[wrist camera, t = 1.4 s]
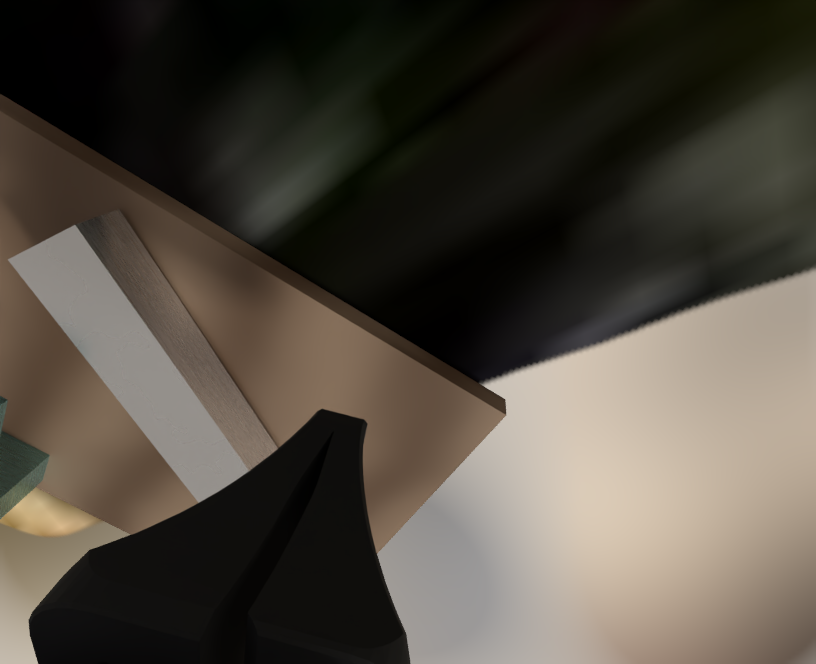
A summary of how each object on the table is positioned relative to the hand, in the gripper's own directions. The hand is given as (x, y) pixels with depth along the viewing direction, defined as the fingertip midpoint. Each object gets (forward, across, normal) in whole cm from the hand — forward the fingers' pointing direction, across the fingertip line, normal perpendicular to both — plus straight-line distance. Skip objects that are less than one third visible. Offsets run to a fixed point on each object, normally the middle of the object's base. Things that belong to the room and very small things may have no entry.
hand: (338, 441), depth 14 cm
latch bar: (+4, +6, +4) cm, 8 cm away
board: (+6, +8, +6) cm, 11 cm away
